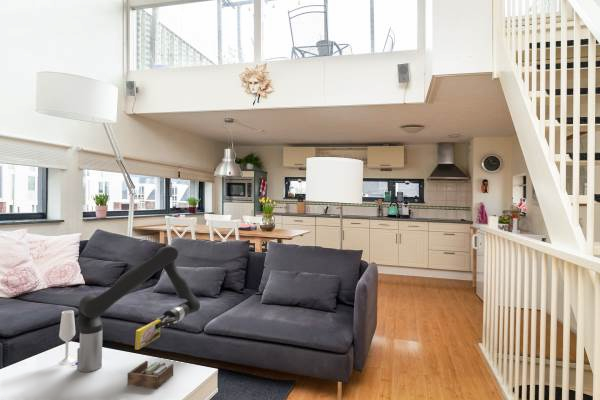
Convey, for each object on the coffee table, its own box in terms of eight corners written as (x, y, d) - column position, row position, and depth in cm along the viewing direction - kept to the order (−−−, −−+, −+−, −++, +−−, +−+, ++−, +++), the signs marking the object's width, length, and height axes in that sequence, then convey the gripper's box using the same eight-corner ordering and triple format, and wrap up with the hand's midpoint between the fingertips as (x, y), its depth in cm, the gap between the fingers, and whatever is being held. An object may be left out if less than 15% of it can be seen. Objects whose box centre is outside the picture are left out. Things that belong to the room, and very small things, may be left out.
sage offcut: (145, 383, 156) (145, 369, 156) (156, 375, 164) (156, 361, 164) (149, 384, 156) (149, 370, 156) (160, 375, 164) (160, 362, 164)
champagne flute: (54, 363, 174) (56, 312, 174) (68, 357, 180) (69, 309, 180) (65, 365, 172) (66, 314, 172) (78, 359, 178) (79, 310, 178)
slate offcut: (153, 385, 155) (153, 372, 155) (162, 377, 162) (162, 365, 162) (157, 385, 154) (157, 372, 155) (166, 378, 161) (166, 365, 161)
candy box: (138, 350, 156) (139, 330, 156) (134, 349, 156) (134, 330, 156) (160, 336, 172) (161, 319, 172) (156, 336, 172) (157, 318, 172)
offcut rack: (127, 385, 155) (127, 373, 155) (145, 371, 167) (145, 360, 167) (157, 389, 152) (157, 377, 152) (173, 375, 164) (173, 364, 164)
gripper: (161, 306, 186) (140, 317, 169) (186, 309, 183) (167, 319, 166) (161, 321, 186) (139, 333, 169) (186, 324, 183) (166, 336, 166)
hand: (153, 326), depth 167 cm, fingers closed on candy box, 2 cm apart
